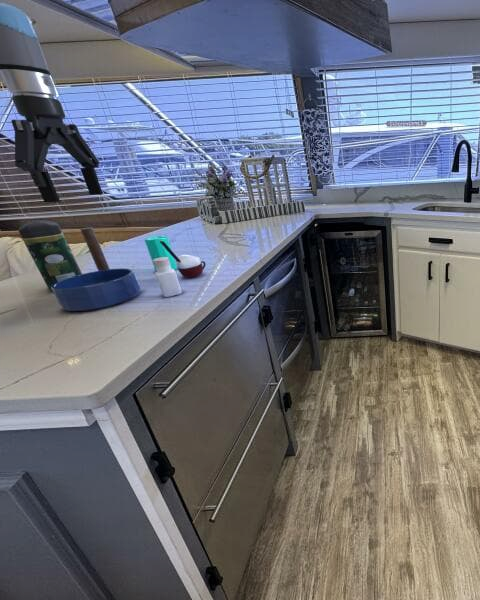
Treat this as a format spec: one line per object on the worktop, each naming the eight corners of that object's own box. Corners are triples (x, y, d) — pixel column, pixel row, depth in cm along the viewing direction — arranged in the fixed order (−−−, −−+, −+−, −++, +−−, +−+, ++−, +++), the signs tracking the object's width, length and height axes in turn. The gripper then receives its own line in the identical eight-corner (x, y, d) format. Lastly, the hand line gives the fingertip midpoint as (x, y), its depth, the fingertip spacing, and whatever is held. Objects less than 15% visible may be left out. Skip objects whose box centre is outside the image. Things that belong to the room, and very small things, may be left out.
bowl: (58, 319, 72) (45, 294, 69) (67, 299, 83) (56, 277, 80) (142, 300, 80) (133, 277, 78) (140, 285, 91) (132, 264, 89)
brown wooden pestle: (99, 290, 88) (72, 231, 82) (100, 286, 92) (74, 228, 85) (122, 286, 91) (98, 228, 84) (122, 281, 95) (99, 225, 88)
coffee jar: (49, 285, 94) (16, 221, 86) (85, 278, 99) (57, 217, 91) (47, 294, 87) (12, 225, 80) (86, 286, 92) (56, 220, 85)
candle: (161, 273, 100) (147, 235, 96) (152, 271, 103) (138, 234, 99) (181, 268, 105) (169, 231, 100) (172, 266, 108) (160, 230, 103)
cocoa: (206, 271, 101) (195, 233, 96) (211, 275, 97) (199, 236, 92) (171, 278, 96) (157, 238, 91) (174, 283, 91) (160, 242, 86)
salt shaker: (164, 298, 81) (151, 262, 77) (162, 294, 84) (149, 259, 80) (182, 294, 83) (171, 258, 79) (180, 290, 86) (168, 255, 82)
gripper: (-3, 87, 59) (49, 205, 68) (96, 104, 81) (126, 191, 90) (-50, 85, 58) (9, 206, 67) (64, 103, 81) (96, 191, 90)
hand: (76, 198), depth 79 cm, fingers open, 13 cm apart
